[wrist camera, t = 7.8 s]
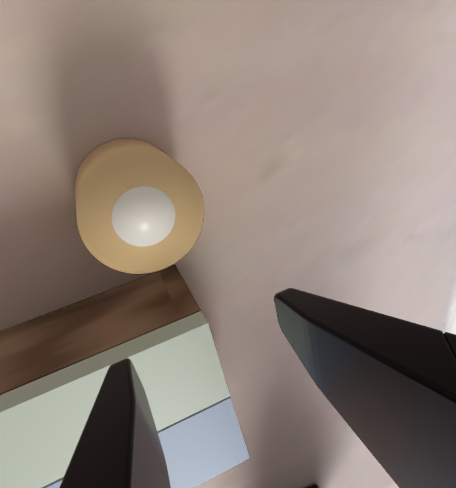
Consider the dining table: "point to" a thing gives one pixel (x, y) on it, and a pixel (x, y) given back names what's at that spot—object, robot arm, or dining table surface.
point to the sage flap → (87, 388)
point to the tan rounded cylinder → (136, 207)
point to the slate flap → (200, 446)
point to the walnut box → (92, 327)
